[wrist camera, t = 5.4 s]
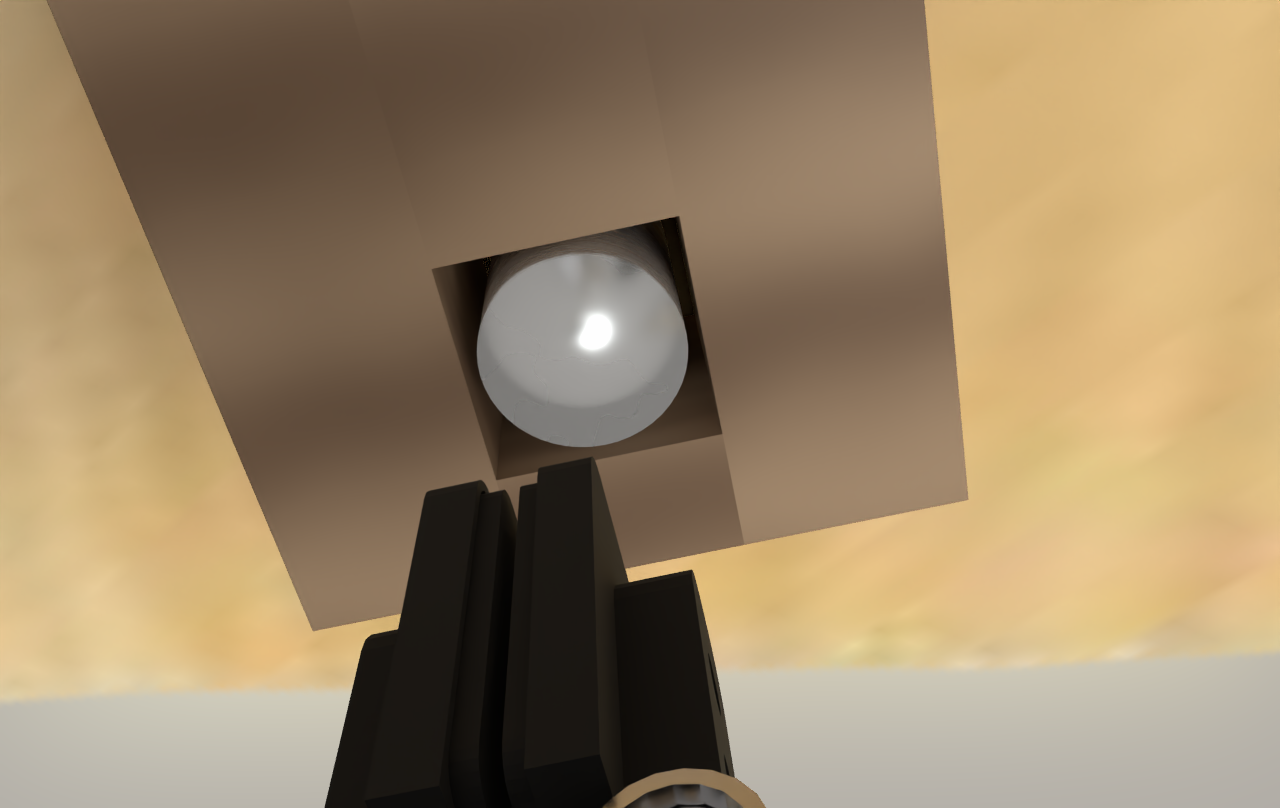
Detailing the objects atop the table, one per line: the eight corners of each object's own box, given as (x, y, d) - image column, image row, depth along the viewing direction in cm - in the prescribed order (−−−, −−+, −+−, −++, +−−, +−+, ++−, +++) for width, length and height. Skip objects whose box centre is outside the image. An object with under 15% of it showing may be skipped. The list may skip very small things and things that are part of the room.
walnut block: (-41, -588, 20) (-258, -720, 15) (763, -792, 20) (835, -1006, 14) (357, 483, 30) (312, 631, 25) (896, 372, 30) (968, 499, 25)
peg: (473, 190, 27) (451, 280, 22) (648, 152, 26) (665, 234, 22) (517, 348, 28) (507, 465, 24) (681, 314, 28) (705, 424, 23)
